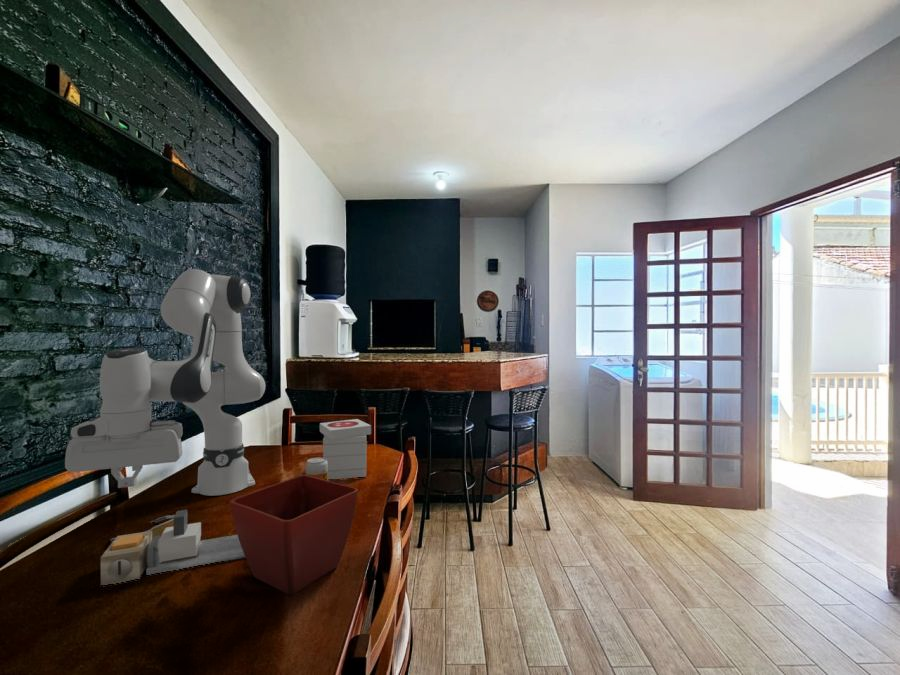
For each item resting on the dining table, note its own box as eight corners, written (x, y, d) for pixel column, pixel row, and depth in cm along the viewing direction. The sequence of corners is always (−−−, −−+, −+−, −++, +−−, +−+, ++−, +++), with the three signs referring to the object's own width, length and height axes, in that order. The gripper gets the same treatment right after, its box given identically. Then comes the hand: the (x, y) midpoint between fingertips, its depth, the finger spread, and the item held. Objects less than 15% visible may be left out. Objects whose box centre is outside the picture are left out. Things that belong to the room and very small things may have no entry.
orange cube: (119, 553, 92) (119, 537, 92) (143, 549, 94) (143, 533, 94) (112, 562, 88) (111, 546, 88) (137, 558, 90) (137, 542, 90)
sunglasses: (146, 553, 99) (144, 532, 99) (101, 553, 103) (99, 533, 104) (198, 527, 112) (196, 508, 113) (157, 528, 117) (155, 510, 117)
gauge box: (117, 562, 95) (117, 536, 95) (152, 556, 97) (152, 530, 97) (99, 588, 85) (99, 558, 85) (138, 581, 87) (138, 552, 87)
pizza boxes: (371, 455, 179) (370, 413, 179) (371, 479, 149) (371, 428, 149) (324, 458, 175) (324, 415, 175) (315, 483, 146) (315, 431, 146)
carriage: (166, 549, 97) (165, 510, 97) (201, 543, 100) (200, 505, 100) (158, 564, 90) (158, 522, 90) (196, 557, 93) (195, 517, 93)
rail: (156, 557, 97) (156, 533, 97) (274, 537, 106) (273, 515, 106) (146, 576, 89) (146, 550, 89) (274, 552, 99) (273, 528, 99)
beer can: (321, 516, 118) (321, 463, 118) (301, 515, 119) (301, 462, 119) (331, 508, 124) (331, 457, 124) (313, 506, 125) (312, 456, 125)
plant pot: (286, 612, 77) (286, 520, 77) (227, 580, 87) (227, 500, 87) (360, 564, 93) (360, 488, 93) (303, 542, 104) (303, 474, 104)
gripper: (185, 416, 98) (185, 475, 98) (74, 423, 90) (75, 487, 91) (179, 422, 92) (180, 484, 93) (60, 430, 84) (61, 498, 85)
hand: (127, 486), depth 91 cm, fingers closed
